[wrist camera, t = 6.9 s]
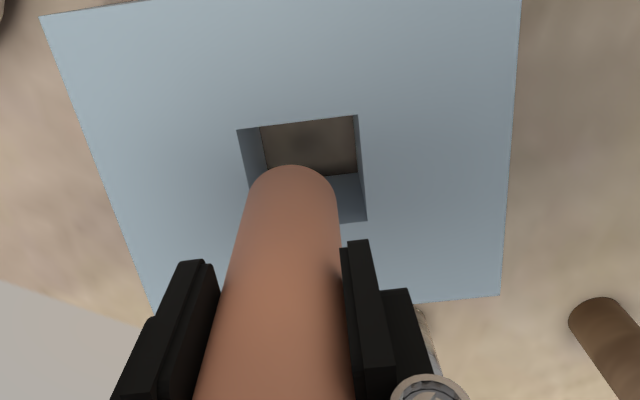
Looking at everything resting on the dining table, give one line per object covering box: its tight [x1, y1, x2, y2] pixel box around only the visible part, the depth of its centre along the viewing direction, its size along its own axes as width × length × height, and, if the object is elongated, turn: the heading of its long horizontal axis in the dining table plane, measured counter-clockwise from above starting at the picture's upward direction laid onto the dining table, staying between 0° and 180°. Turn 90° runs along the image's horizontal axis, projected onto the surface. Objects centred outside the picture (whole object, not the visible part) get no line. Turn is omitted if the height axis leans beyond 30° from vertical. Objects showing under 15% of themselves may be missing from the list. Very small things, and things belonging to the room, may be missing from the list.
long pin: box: [192, 165, 356, 400], centre depth 11 cm, size 3×3×12 cm
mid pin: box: [568, 297, 640, 400], centre depth 25 cm, size 3×3×6 cm
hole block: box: [38, 0, 522, 316], centre depth 20 cm, size 16×14×5 cm
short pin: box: [414, 307, 443, 377], centre depth 26 cm, size 3×3×4 cm
